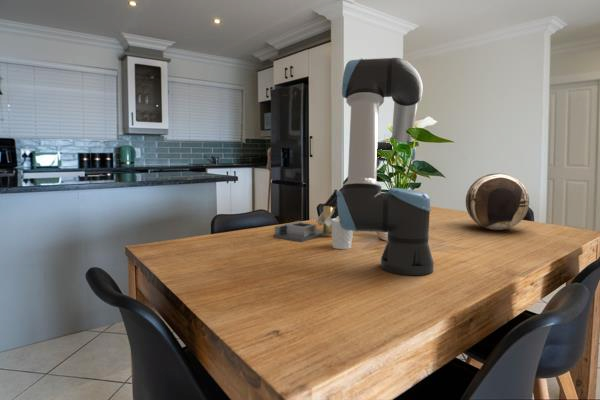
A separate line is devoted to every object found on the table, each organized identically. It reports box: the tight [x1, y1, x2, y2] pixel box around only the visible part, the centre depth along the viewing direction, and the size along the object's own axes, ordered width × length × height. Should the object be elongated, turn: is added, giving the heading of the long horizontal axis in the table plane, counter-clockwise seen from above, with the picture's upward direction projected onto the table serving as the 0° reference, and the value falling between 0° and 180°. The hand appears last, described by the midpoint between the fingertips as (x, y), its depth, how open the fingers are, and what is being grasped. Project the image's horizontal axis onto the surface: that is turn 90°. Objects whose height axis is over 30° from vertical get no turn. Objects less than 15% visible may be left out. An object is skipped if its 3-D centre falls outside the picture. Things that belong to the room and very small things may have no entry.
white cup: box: [331, 217, 354, 250], centre depth 140 cm, size 8×8×10 cm
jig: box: [273, 220, 327, 243], centre depth 159 cm, size 18×14×5 cm
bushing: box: [322, 205, 336, 236], centre depth 158 cm, size 5×5×11 cm
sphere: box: [465, 172, 530, 231], centre depth 173 cm, size 25×25×25 cm
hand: (322, 223), depth 156 cm, fingers closed on bushing, 5 cm apart
